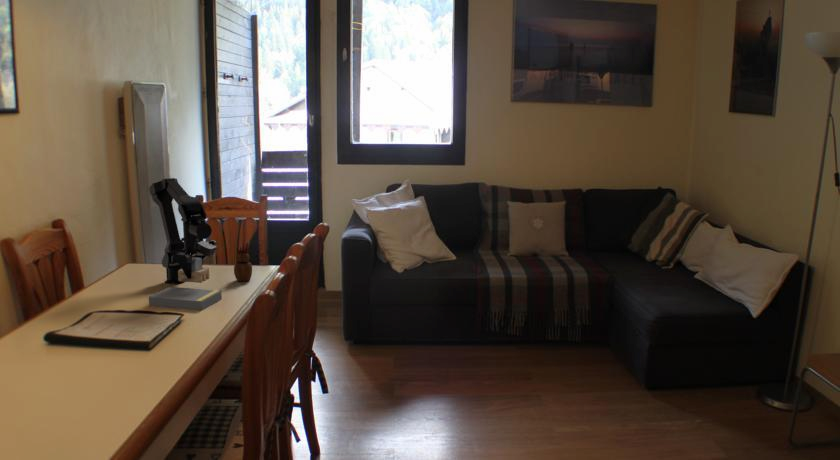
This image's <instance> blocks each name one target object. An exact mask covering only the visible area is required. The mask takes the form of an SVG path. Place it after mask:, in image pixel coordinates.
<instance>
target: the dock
mask: <svg viewBox="0 0 840 460" xmlns="http://www.w3.org/2000/svg"><path fill="white" fill-rule="evenodd" d="M221 300H222V290H220V289H214V290H213V289H203V288H202V289H200V288H190V287H187V288H186V287H178V286H169V287H166V288H164V289H163V290H160V291H159V292H155V293H154V294H152V295H150V296H148V305H149V306H151V307H152V306H153V307H162V308H163V307H164V308H175V309H187V310H198V311H199V310H200V311H204V310H205V309H207V308H208V307H211V306H212V305H214V304H216V303H218V302H220V301H221Z"/></svg>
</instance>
